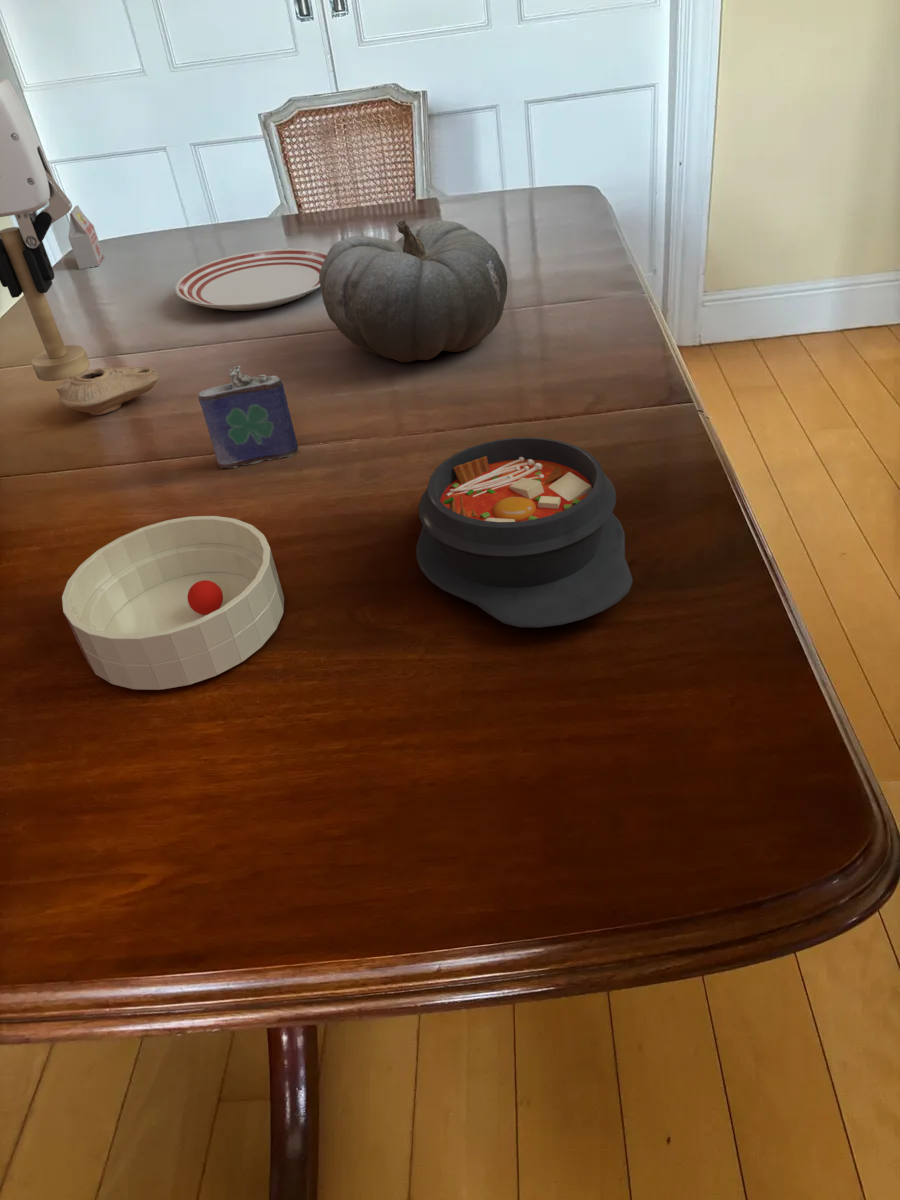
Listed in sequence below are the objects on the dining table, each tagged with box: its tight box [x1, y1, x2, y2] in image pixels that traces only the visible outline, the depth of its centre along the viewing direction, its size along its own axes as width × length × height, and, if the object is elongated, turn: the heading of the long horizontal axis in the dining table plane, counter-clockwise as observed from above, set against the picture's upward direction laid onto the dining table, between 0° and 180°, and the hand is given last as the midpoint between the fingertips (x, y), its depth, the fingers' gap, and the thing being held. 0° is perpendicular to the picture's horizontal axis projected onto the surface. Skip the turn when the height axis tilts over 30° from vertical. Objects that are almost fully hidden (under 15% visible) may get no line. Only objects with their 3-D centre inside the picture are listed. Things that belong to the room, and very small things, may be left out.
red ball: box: [187, 580, 223, 615], centre depth 78 cm, size 3×3×3 cm
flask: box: [197, 365, 299, 469], centre depth 99 cm, size 9×3×11 cm, turn 102°
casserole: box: [415, 437, 634, 629], centre depth 78 cm, size 25×19×8 cm
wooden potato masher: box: [0, 226, 91, 382], centre depth 86 cm, size 5×5×14 cm
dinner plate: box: [174, 248, 328, 312], centre depth 149 cm, size 27×27×3 cm
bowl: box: [61, 515, 285, 691], centre depth 77 cm, size 17×17×6 cm
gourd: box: [319, 218, 508, 363], centre depth 120 cm, size 25×25×17 cm
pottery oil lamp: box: [55, 366, 160, 416], centre depth 117 cm, size 9×12×7 cm
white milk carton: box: [67, 204, 105, 270], centre depth 173 cm, size 4×7×10 cm, turn 9°
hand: (32, 289), depth 85 cm, fingers closed on wooden potato masher
